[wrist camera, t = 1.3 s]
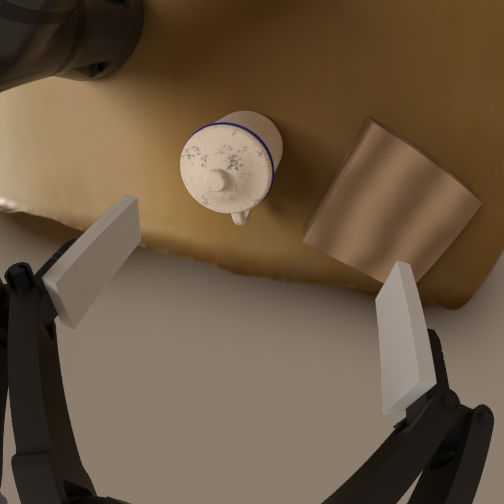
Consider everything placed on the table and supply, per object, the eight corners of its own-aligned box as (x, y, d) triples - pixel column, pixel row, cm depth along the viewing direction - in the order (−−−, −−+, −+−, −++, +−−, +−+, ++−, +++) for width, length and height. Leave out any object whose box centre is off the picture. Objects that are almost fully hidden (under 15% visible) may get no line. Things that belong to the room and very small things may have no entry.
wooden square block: (304, 224, 39) (301, 241, 36) (368, 116, 29) (374, 123, 26) (400, 275, 40) (405, 294, 37) (470, 188, 30) (482, 203, 27)
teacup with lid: (204, 111, 33) (156, 136, 24) (282, 105, 31) (262, 126, 21) (219, 201, 40) (184, 253, 30) (289, 202, 37) (274, 257, 28)
